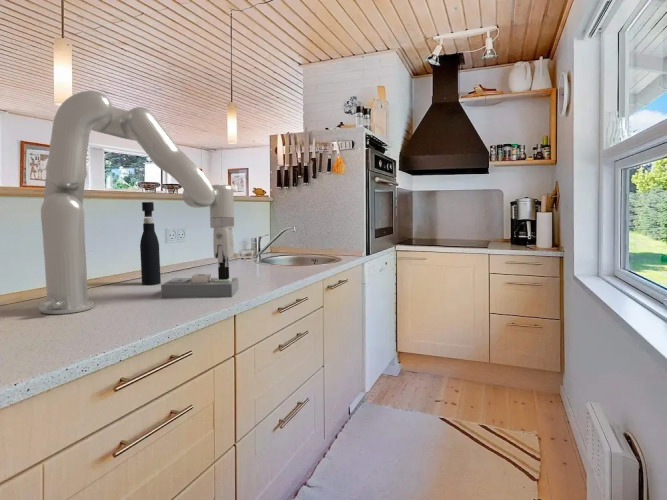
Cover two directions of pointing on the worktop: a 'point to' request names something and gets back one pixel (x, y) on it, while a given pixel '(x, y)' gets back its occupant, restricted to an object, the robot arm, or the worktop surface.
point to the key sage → (222, 280)
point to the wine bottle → (149, 249)
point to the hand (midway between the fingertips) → (223, 278)
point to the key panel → (199, 289)
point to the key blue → (180, 281)
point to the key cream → (201, 278)
